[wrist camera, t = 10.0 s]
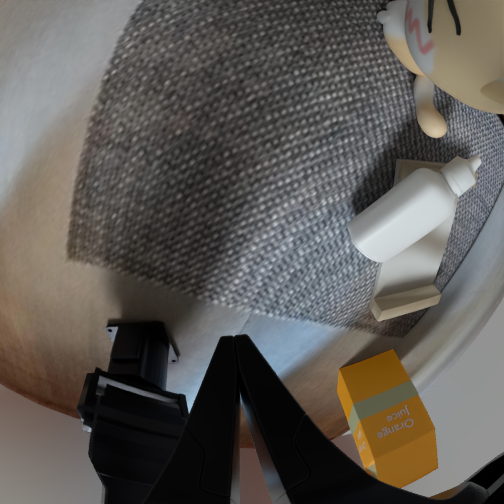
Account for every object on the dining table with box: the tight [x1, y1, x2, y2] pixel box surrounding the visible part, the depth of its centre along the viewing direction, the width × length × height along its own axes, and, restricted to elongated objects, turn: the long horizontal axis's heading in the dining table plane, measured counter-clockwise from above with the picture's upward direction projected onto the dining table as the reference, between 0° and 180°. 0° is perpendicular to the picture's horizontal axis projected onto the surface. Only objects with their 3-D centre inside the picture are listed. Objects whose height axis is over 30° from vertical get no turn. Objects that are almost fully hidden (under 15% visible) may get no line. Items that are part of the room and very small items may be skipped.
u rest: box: [368, 159, 478, 321], centre depth 23 cm, size 16×9×2 cm, turn 3°
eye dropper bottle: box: [347, 155, 482, 262], centre depth 17 cm, size 4×6×12 cm
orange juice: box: [337, 349, 438, 488], centre depth 27 cm, size 8×9×20 cm
